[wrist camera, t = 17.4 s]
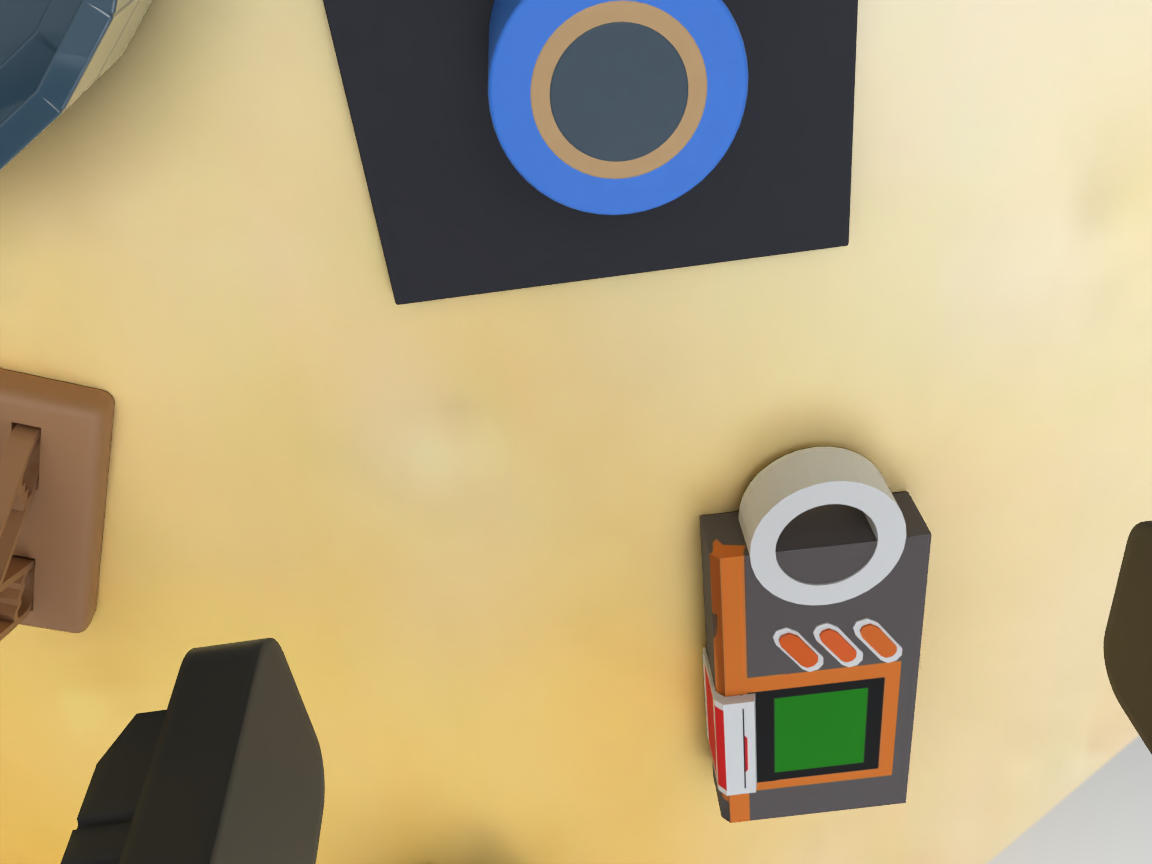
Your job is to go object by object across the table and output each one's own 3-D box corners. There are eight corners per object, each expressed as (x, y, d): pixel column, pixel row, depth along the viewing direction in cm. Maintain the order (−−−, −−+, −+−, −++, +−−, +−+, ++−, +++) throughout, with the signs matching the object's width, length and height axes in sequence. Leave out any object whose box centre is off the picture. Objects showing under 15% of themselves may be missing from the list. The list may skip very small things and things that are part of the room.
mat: (397, 296, 28) (395, 305, 28) (272, -228, 21) (268, -227, 21) (844, 238, 28) (849, 246, 28) (863, -311, 21) (870, -310, 21)
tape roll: (507, 163, 26) (509, 232, 22) (470, -68, 23) (466, -27, 20) (718, 134, 26) (751, 200, 22) (709, -101, 23) (746, -65, 19)
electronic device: (942, 474, 30) (907, 817, 38) (908, 420, 32) (883, 752, 40) (704, 502, 30) (720, 839, 38) (689, 445, 32) (707, 773, 40)
